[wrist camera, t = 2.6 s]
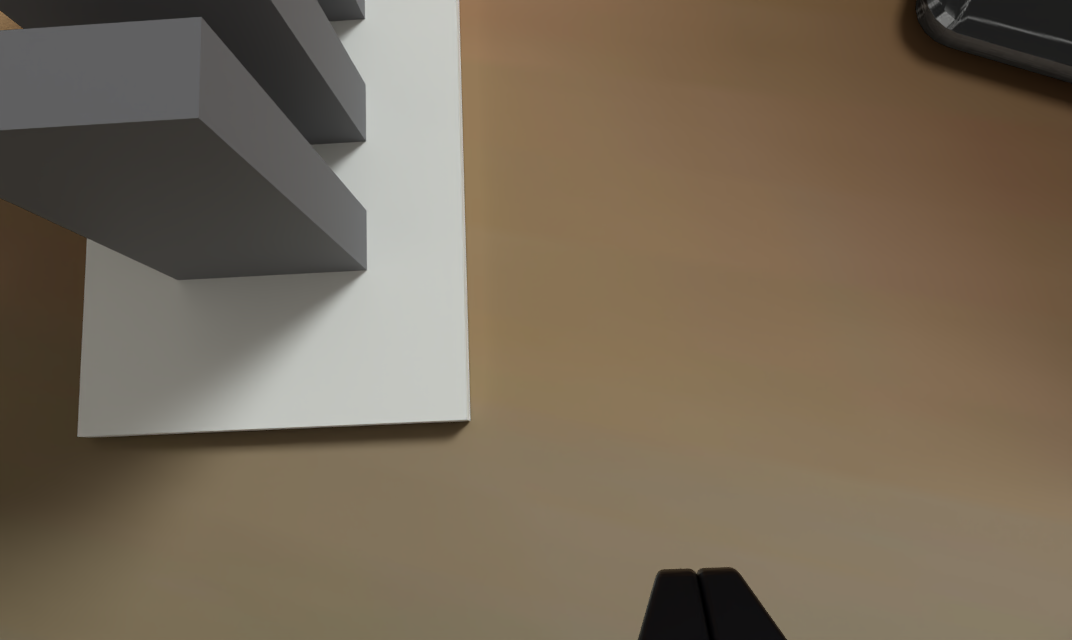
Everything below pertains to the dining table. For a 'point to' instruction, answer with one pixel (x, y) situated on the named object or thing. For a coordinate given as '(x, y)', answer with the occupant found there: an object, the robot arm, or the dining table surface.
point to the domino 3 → (343, 9)
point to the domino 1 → (248, 51)
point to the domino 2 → (167, 153)
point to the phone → (1005, 31)
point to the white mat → (313, 280)
